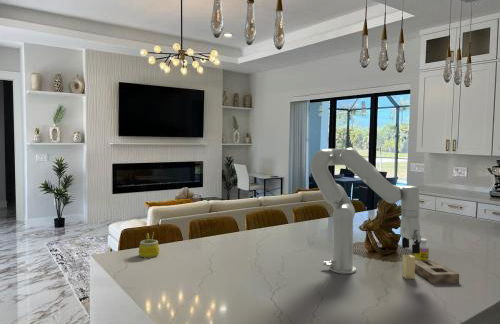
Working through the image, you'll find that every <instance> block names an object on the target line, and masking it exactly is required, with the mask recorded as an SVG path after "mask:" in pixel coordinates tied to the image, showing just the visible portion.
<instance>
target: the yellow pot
mask: <svg viewBox="0 0 500 324" xmlns="http://www.w3.org/2000/svg"><path fill="white" fill-rule="evenodd" d="M154 234H155V231H152V237H151V239H150V234H149V233H148V232H147V233H146V239H143V240H141V241H140V242H139V247H138V254H139V255H138V256H139V257H141V258H146V259H148V258H155V257H157V256H158V255H159V253H160V246H159V241H158V240H157V239H153V238H154Z"/></svg>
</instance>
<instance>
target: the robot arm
mask: <svg viewBox="0 0 500 324" xmlns="http://www.w3.org/2000/svg"><path fill="white" fill-rule="evenodd" d="M329 166H345V167H346V168H347V169H348V170H350V172H352V173H353V174H354V175H356V177H358V179H360V180H361V181H362V182H363V183H364V184H366V186H368V187H369V188H370V189H371V190H372V191H373V192H374V193H375V194H377V195H378V197H380V198H381V199H383V200H384V201H386V203H389V204H396V203H398V202H399V201H401V203H400V204H401V207H400V208H401V211H400V212H401V213H400V214H401V217H400V230H399V232H400V233H399V234H400V236H401V248H402V249H408V248H410V240H411V242H412V244H411V254H413V255H414V254H418V253H420V242H421V238H422V235H421V229H420V228H421V227H420V220H419V218H420V188H419V187H418V186H417V185H415V186H414V185H396V184H392V183H391V182H390V181H388V180H387V179H386V178H385V177H384V176H383V175H382V174H381V173H380V171H379V170H378V169H377V167H375V166H374V165H373V164H372V163H371V162H369V160H367V159H366V158H365V157H364V156H362V155H361V154H360V153H359V152H358V150H356V149H355V148H353V147H346V148H323V149H321V148H320V150H318V151H316V152H315V153H314V155H313V156H312V158H311V161H310V173H311V176H312V177H313V180H314V181H315V183H316V185H317V187H318V189H319V192H320V193H321V195H322V197H323V199H324V201H325V202H326V203H327V204H328V205H331V207H332V209H333V212H332V217H331V218H332V258H331V259H330V260H328V261H322V266H326V267H329V268H328V269H329V271H331V272H334V273H337V274H343V275H347V274H354V273H355V272H357V267H355V266H354V265H353V264H354V261H353V260H354V258H353V257H354V217H355V215H356V209H355V207H354V205H353V203H352V201H351V199H350V198H349V196H348V194H347V192H346V191H345V188H344V187H343V186H342V185H340V183H337V182H336V181H335V179H334V177H333V175H332V173H331V172H330V170H329Z"/></svg>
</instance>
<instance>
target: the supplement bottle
mask: <svg viewBox="0 0 500 324" xmlns="http://www.w3.org/2000/svg"><path fill="white" fill-rule="evenodd" d="M427 243H428V239H427V238H422V237H421V242H420V253H418V254H413V256H414V257H415V261H422V260H429V255H430V254H429V252H430V251H429V250H430V248H429V247H430V245H429V244H427Z"/></svg>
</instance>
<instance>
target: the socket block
mask: <svg viewBox="0 0 500 324" xmlns="http://www.w3.org/2000/svg"><path fill="white" fill-rule="evenodd" d="M415 274H418V275H419V276H421V277H422V278H424V279H425V280H427V281H429V282H430V283H432V285H433V284H460V273H458V272H457V271H454V270H453V269H451V268H449V267H447V266H446V265H444V264H442V263H441V262H438V261H436V260H434V259H433V260H432V259H431V260H430V259H428V260H422V261H415Z"/></svg>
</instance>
